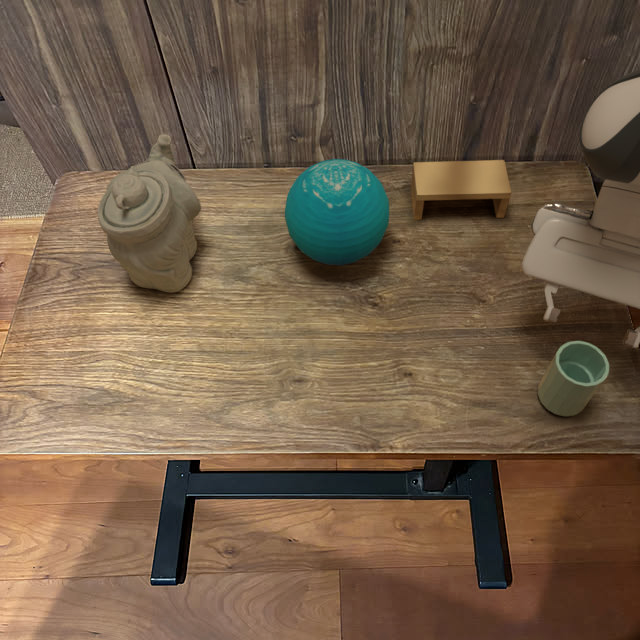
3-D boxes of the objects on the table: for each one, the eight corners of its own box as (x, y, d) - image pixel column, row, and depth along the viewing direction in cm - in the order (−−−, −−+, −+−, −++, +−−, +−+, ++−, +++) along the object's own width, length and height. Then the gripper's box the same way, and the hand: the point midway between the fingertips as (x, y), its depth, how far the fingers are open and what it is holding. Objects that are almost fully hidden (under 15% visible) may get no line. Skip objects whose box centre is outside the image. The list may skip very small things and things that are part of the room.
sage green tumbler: (585, 381, 82) (609, 346, 74) (583, 423, 78) (608, 390, 71) (538, 371, 83) (557, 336, 75) (534, 412, 79) (554, 379, 72)
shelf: (497, 185, 101) (504, 159, 97) (503, 217, 97) (511, 192, 93) (410, 187, 102) (413, 162, 97) (413, 220, 98) (416, 195, 93)
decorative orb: (380, 206, 100) (384, 131, 87) (393, 281, 92) (400, 211, 79) (286, 214, 100) (277, 140, 87) (291, 290, 91) (282, 220, 79)
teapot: (181, 201, 102) (151, 105, 86) (241, 250, 96) (220, 157, 80) (97, 258, 96) (47, 166, 80) (154, 315, 90) (113, 227, 74)
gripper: (542, 196, 71) (502, 310, 75) (735, 248, 66) (683, 367, 70) (540, 198, 77) (504, 303, 81) (717, 245, 72) (670, 354, 76)
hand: (588, 333), depth 75 cm, fingers open, 8 cm apart
